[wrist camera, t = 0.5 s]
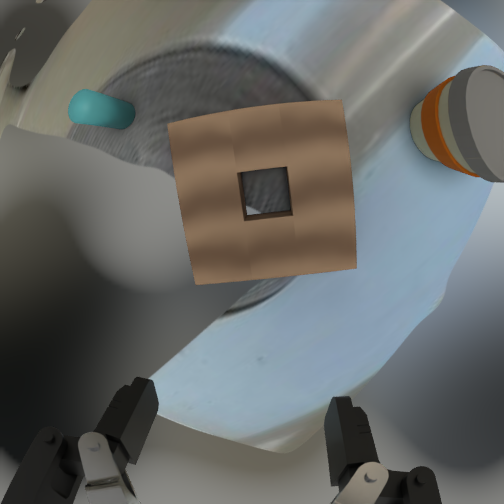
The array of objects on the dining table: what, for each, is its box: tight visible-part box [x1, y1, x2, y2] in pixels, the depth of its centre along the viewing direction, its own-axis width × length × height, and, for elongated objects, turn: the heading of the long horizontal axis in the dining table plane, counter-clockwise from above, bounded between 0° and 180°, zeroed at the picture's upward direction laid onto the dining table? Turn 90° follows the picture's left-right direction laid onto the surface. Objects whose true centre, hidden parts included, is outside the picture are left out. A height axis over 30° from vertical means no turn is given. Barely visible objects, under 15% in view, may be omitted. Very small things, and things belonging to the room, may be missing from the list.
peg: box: [68, 89, 135, 129], centre depth 28 cm, size 4×4×10 cm
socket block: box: [167, 100, 357, 285], centre depth 33 cm, size 20×20×4 cm
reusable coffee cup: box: [410, 65, 504, 182], centre depth 23 cm, size 13×13×15 cm
